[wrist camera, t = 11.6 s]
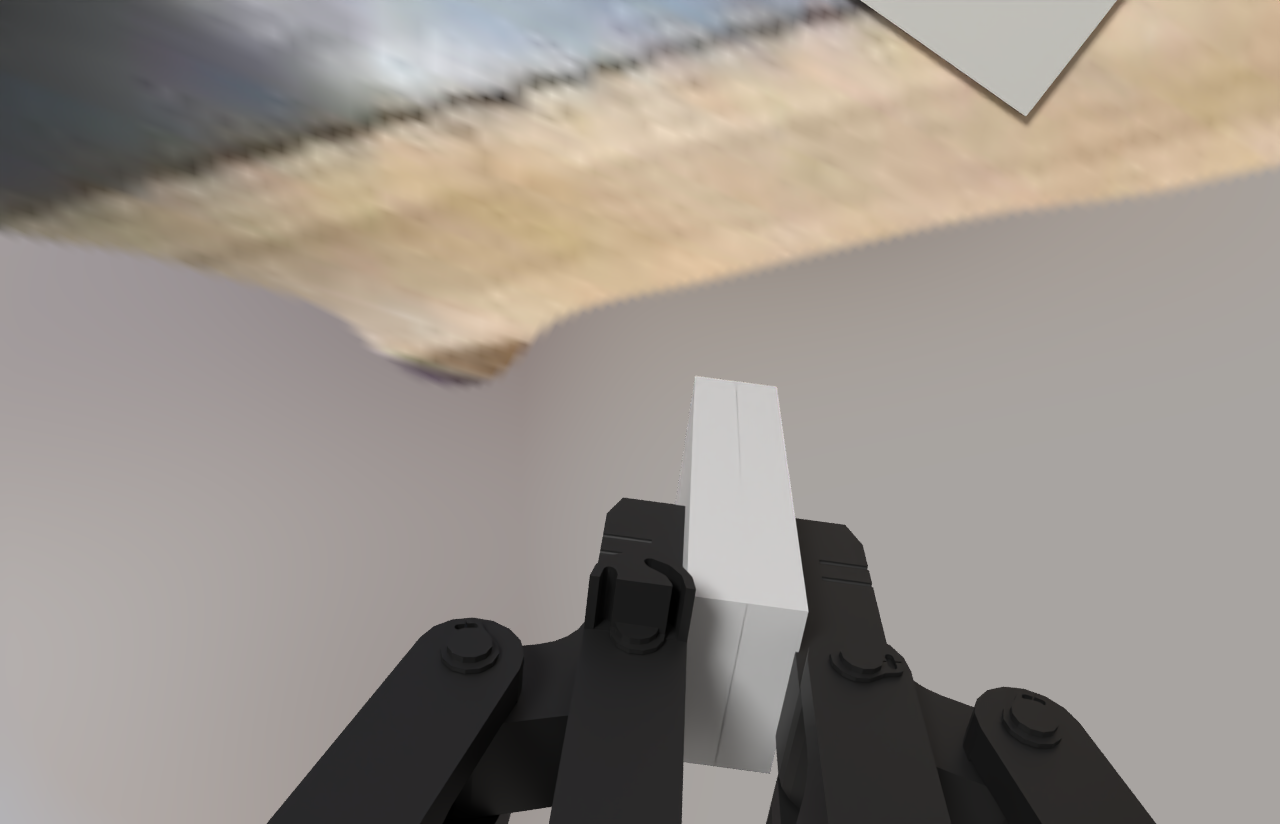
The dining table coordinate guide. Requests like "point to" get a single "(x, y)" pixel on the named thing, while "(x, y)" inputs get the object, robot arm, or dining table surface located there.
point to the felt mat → (1000, 38)
